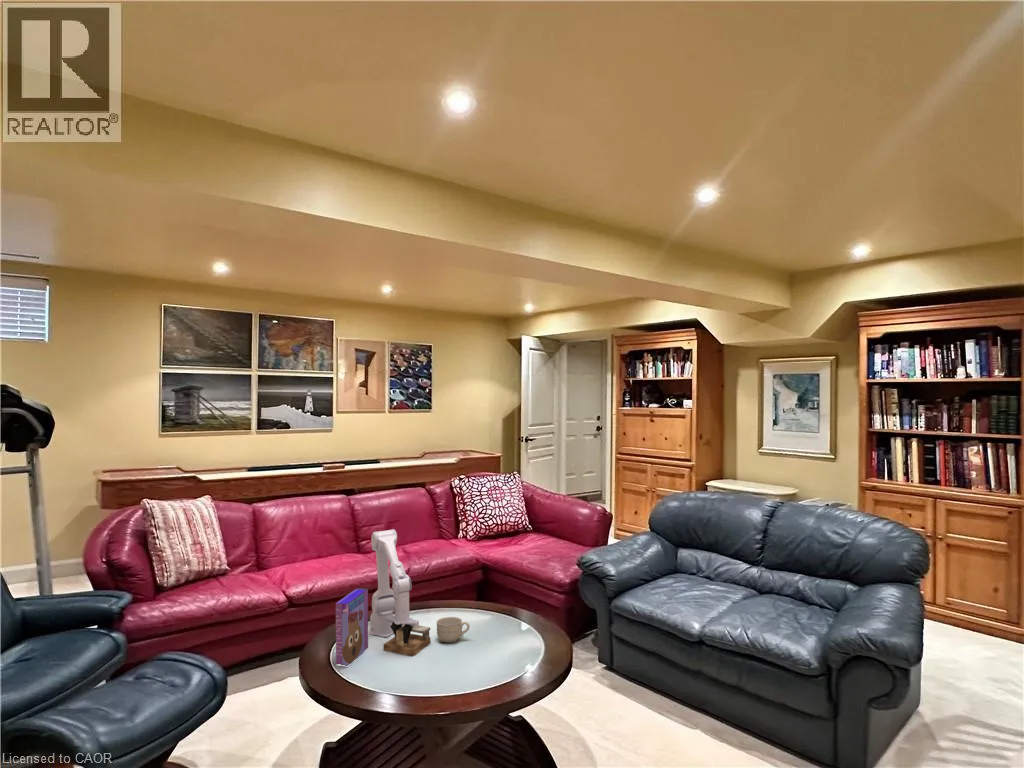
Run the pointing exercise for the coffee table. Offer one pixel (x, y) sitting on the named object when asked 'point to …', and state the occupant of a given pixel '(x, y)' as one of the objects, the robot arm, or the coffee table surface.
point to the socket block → (410, 642)
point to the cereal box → (351, 626)
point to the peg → (400, 638)
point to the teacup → (450, 628)
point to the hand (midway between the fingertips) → (402, 642)
